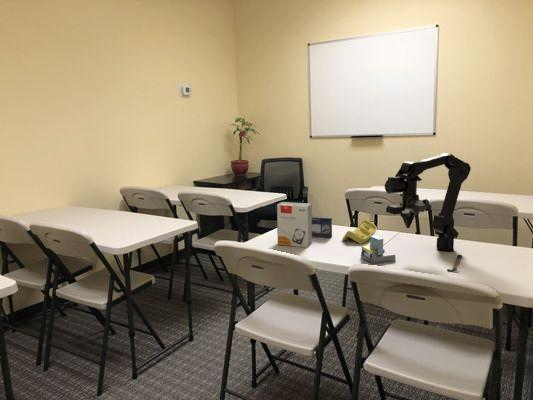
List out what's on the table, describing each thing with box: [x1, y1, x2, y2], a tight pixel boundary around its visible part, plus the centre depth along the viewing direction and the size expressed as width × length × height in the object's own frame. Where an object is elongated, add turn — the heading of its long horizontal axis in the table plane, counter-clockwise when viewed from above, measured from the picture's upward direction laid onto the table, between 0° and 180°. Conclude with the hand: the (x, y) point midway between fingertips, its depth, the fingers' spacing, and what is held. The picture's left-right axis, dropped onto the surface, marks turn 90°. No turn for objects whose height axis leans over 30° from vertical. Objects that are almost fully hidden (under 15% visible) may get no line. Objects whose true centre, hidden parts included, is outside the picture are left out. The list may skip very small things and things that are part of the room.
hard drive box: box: [276, 201, 313, 248], centre depth 196 cm, size 16×8×20 cm, turn 68°
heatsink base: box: [360, 245, 397, 265], centre depth 172 cm, size 11×9×5 cm
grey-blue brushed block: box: [364, 234, 384, 259], centre depth 171 cm, size 6×6×8 cm
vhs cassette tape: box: [312, 216, 333, 239], centre depth 210 cm, size 18×3×10 cm, turn 70°
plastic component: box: [342, 219, 378, 245], centre depth 205 cm, size 20×7×10 cm
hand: (408, 227), depth 175 cm, fingers closed
